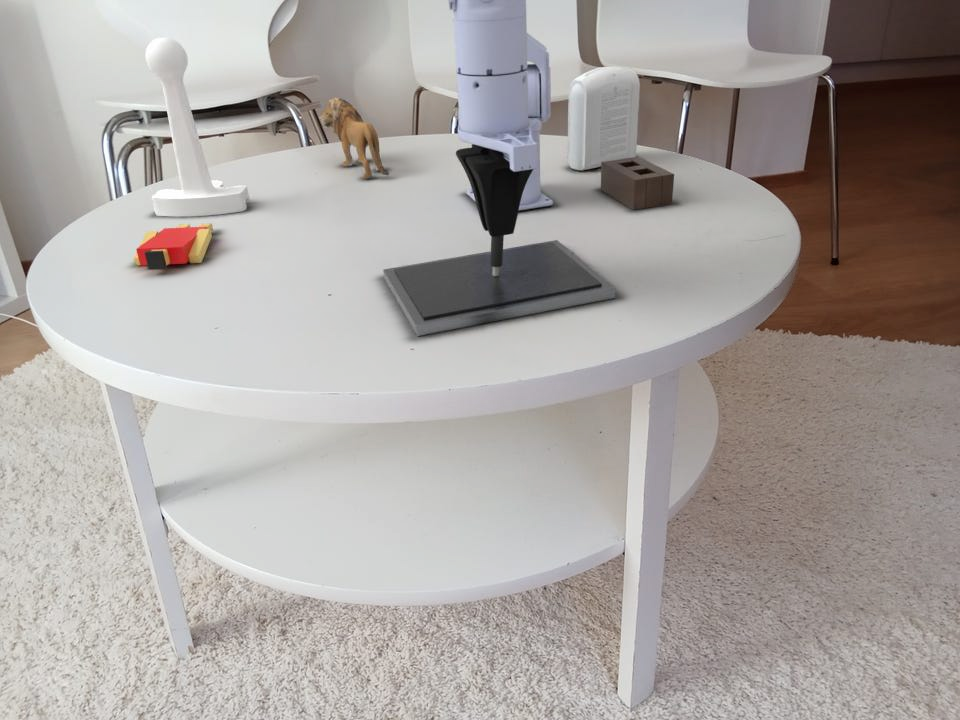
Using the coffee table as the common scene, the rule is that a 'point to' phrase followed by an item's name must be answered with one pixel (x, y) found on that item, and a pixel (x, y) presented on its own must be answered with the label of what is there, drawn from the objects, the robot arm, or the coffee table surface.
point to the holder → (637, 183)
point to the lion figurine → (353, 134)
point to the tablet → (494, 287)
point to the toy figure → (174, 246)
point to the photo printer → (602, 117)
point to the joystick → (187, 145)
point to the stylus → (496, 254)
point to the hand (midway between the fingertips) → (498, 231)
